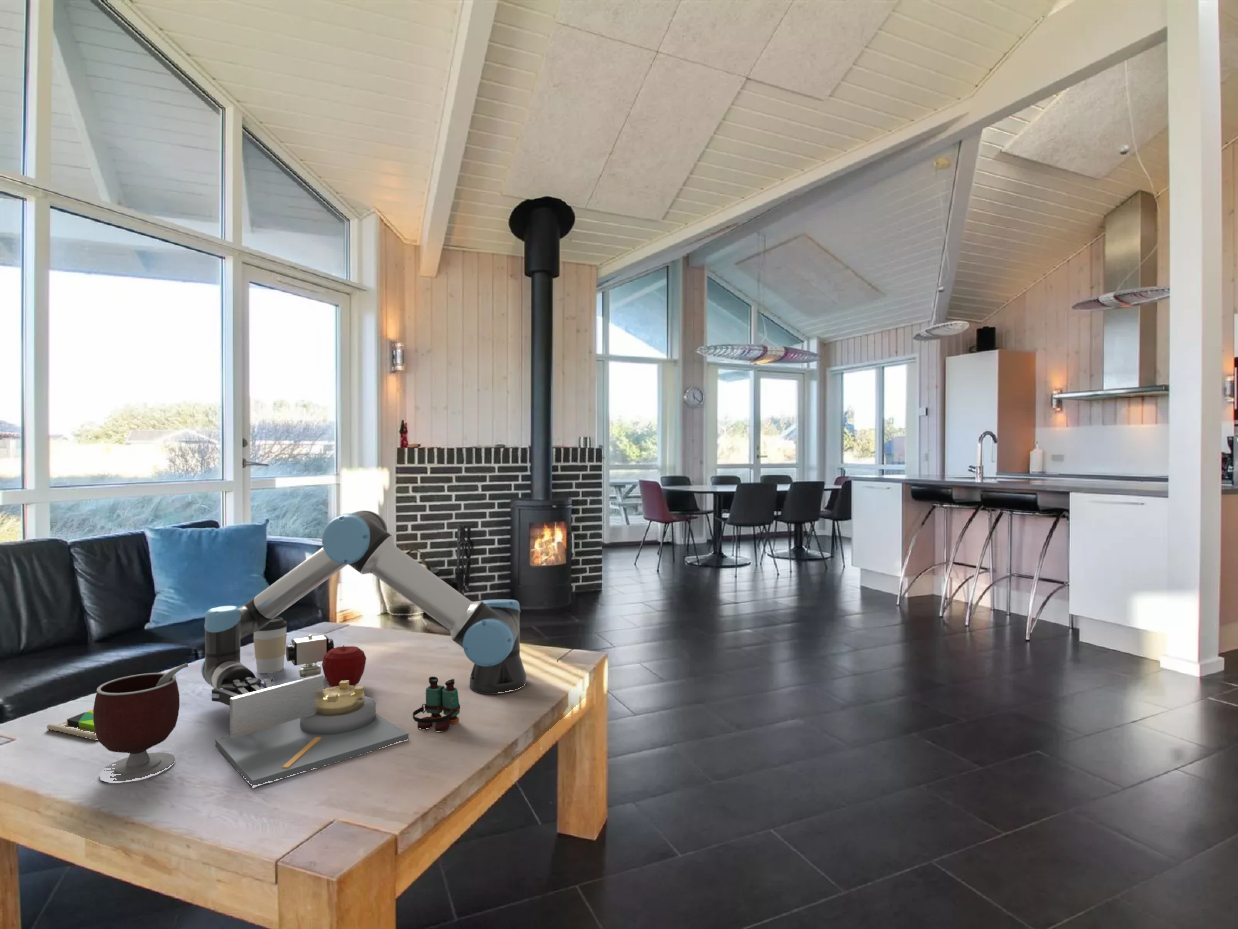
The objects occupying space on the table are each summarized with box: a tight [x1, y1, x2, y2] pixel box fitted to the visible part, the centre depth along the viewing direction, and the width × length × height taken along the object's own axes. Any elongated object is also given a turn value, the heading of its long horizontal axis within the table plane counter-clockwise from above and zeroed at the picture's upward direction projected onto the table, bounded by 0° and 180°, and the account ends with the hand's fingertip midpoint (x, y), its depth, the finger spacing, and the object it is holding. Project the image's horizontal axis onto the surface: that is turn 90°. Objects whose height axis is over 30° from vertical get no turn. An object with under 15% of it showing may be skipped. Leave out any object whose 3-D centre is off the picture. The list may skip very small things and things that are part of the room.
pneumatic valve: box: [285, 634, 335, 679], centre depth 190 cm, size 6×12×12 cm, turn 125°
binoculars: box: [412, 676, 461, 732], centre depth 155 cm, size 9×11×10 cm
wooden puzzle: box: [46, 709, 97, 740], centre depth 159 cm, size 18×19×4 cm
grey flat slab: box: [214, 695, 409, 786], centre depth 146 cm, size 31×26×4 cm
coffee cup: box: [253, 616, 288, 674], centre depth 197 cm, size 9×9×15 cm
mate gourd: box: [92, 662, 189, 781], centre depth 134 cm, size 16×14×20 cm
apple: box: [321, 644, 367, 687], centre depth 181 cm, size 11×11×12 cm
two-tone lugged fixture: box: [229, 674, 365, 739], centre depth 148 cm, size 28×11×8 cm, turn 142°
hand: (265, 707), depth 143 cm, fingers closed
